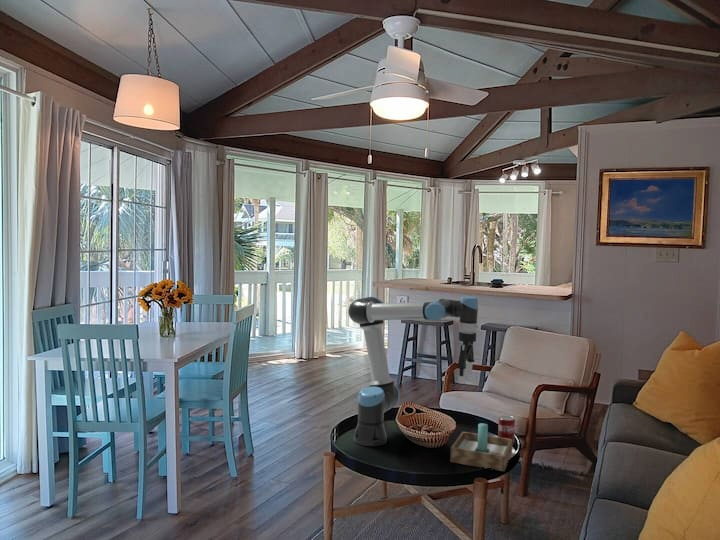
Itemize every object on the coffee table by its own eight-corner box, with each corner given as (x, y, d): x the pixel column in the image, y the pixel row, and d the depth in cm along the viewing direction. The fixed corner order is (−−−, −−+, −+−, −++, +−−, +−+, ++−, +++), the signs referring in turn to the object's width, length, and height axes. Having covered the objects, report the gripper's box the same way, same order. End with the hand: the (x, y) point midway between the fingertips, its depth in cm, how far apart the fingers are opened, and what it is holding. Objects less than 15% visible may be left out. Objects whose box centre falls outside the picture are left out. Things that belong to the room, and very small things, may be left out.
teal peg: (476, 458, 236) (477, 425, 235) (478, 454, 240) (479, 422, 239) (485, 459, 235) (487, 427, 234) (487, 456, 238) (488, 424, 238)
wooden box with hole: (450, 461, 231) (450, 447, 231) (461, 444, 252) (462, 431, 251) (504, 471, 223) (504, 456, 223) (511, 452, 243) (512, 439, 243)
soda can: (514, 447, 250) (515, 421, 249) (498, 445, 251) (499, 419, 250) (513, 441, 257) (514, 416, 256) (497, 440, 258) (498, 414, 258)
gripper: (469, 337, 231) (466, 387, 233) (482, 329, 254) (479, 374, 256) (452, 335, 235) (449, 384, 236) (465, 327, 257) (463, 372, 259)
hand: (465, 379), depth 246 cm, fingers open, 13 cm apart
